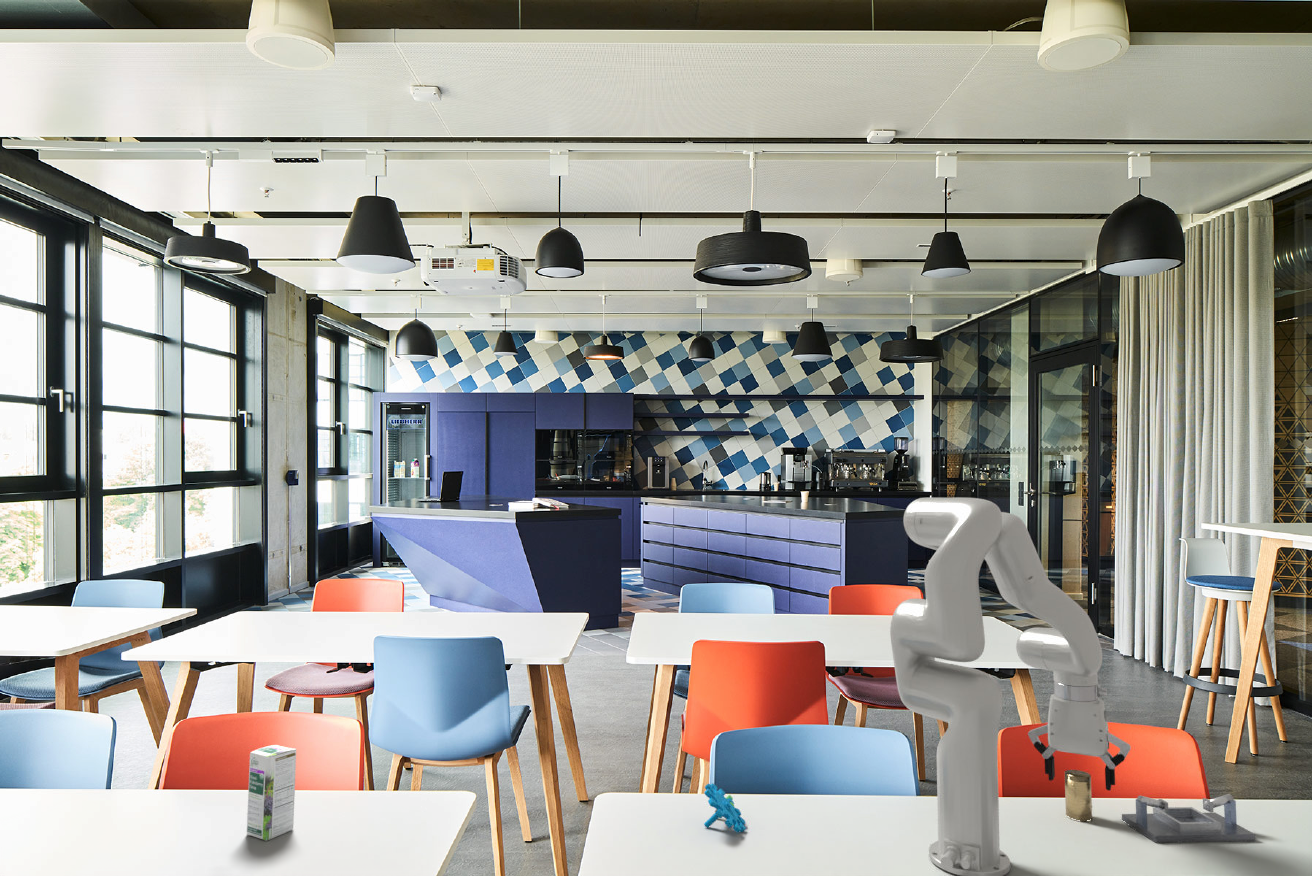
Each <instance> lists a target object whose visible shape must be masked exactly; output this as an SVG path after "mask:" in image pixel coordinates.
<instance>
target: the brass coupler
mask: <svg viewBox="0 0 1312 876" xmlns="http://www.w3.org/2000/svg"><path fill="white" fill-rule="evenodd" d="M1064 790H1065V791H1064V794H1065V795H1064V796H1065V798H1064V799H1065V816H1066V815H1067V816H1069V817H1070V818H1073V819H1076V820H1080V821H1087V820H1090V819H1091V818H1092V819H1093V807H1092V806H1093V804H1092V803H1093V802H1092V800H1093V799H1092V776H1091V773H1089V772H1086V771H1084V770H1079V769H1067V770H1064Z"/></svg>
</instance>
